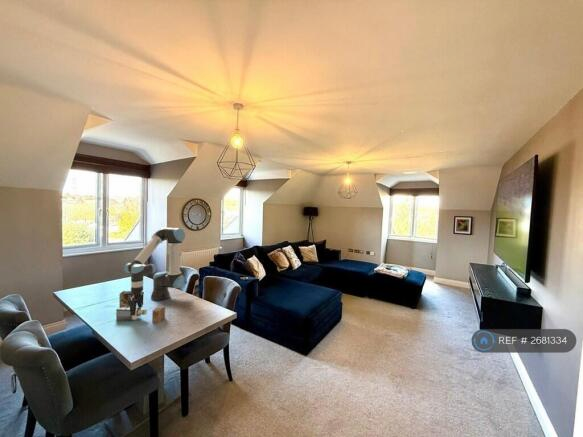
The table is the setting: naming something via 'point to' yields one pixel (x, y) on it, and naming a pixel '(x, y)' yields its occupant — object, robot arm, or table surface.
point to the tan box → (158, 314)
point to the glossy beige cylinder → (140, 311)
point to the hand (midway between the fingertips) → (136, 317)
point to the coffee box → (125, 298)
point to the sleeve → (123, 314)
